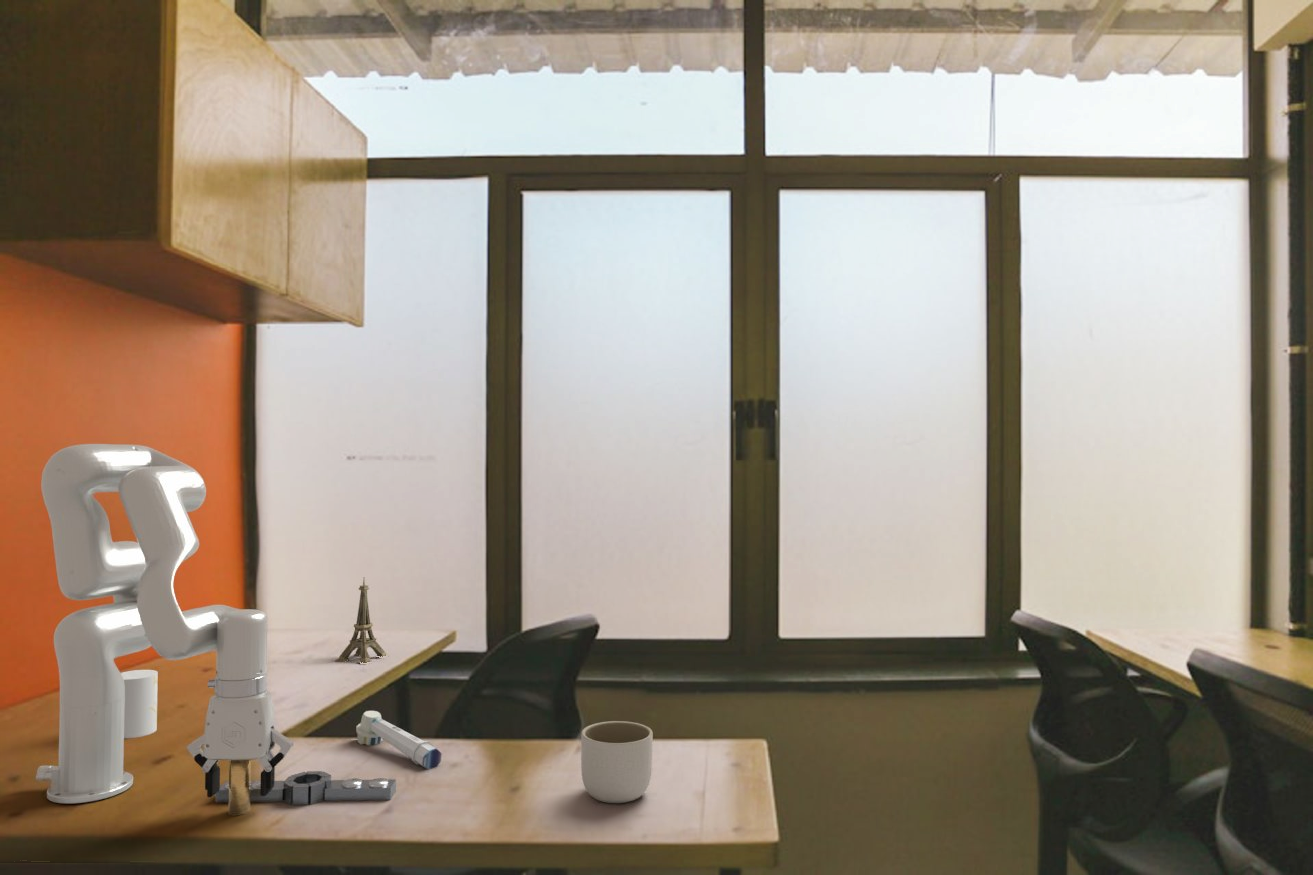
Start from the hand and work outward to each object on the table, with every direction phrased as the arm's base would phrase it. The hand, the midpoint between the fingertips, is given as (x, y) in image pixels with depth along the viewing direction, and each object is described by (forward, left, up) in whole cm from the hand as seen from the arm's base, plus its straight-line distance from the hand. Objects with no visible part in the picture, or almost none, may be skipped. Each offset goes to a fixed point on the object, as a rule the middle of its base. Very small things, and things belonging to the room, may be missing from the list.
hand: (239, 792), depth 145 cm
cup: (-38, +42, -3) cm, 57 cm away
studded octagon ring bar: (+9, +6, -3) cm, 11 cm away
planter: (+62, +5, -3) cm, 62 cm away
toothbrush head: (+19, +28, -4) cm, 34 cm away
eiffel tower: (-8, +106, -3) cm, 106 cm away
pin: (0, 0, -3) cm, 3 cm away
